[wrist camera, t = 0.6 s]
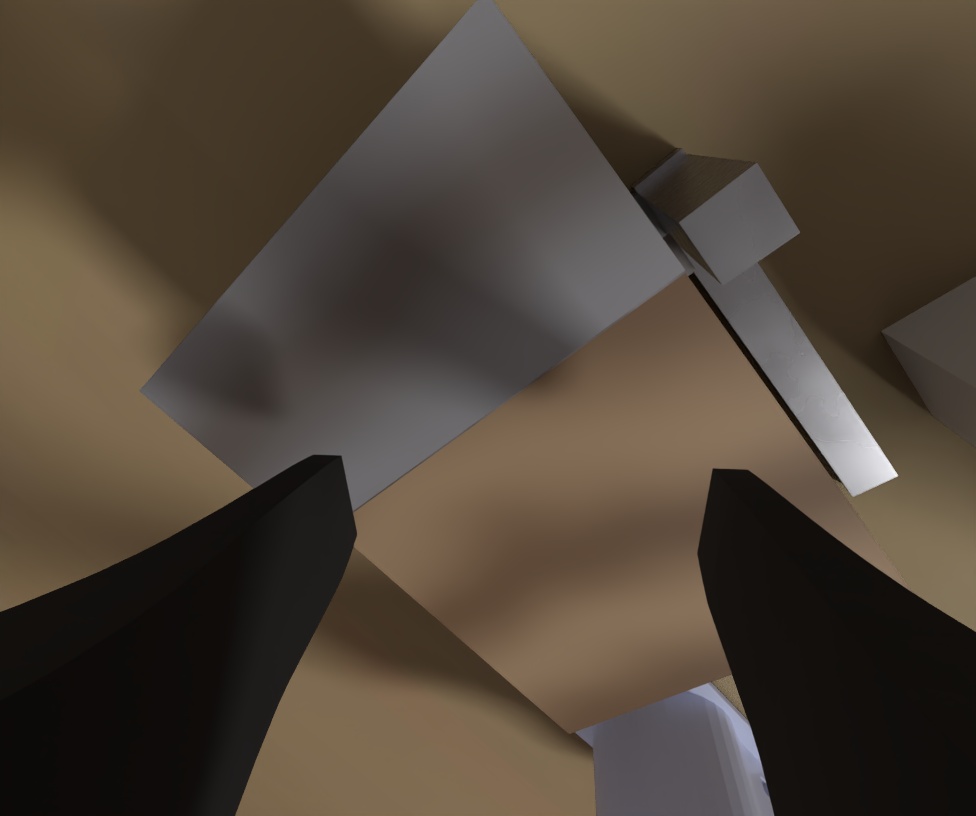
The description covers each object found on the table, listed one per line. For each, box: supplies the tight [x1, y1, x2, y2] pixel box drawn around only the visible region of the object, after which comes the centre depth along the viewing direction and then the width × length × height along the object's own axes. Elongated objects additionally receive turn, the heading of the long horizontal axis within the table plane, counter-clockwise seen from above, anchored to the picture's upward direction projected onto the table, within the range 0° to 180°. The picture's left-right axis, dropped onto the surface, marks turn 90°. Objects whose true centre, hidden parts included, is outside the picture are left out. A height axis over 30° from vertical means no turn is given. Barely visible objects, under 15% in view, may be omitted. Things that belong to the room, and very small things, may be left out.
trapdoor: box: [140, 0, 913, 734], centre depth 14 cm, size 18×12×2 cm
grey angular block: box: [631, 148, 898, 497], centre depth 17 cm, size 14×16×7 cm
